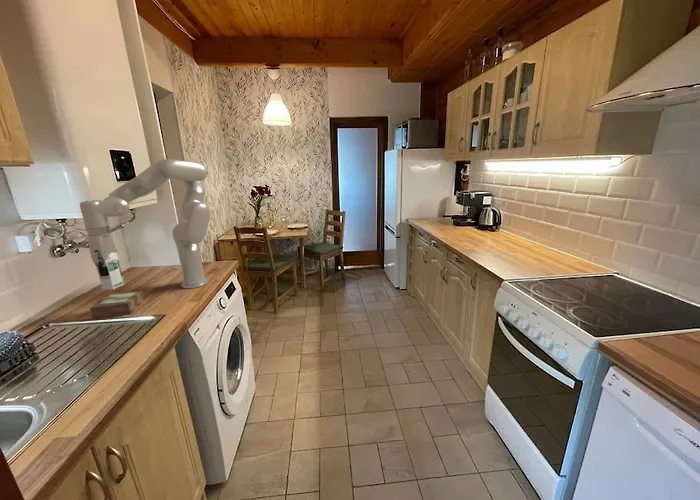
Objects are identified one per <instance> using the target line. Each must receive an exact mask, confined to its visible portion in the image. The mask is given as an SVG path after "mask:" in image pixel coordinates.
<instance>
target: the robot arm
mask: <svg viewBox="0 0 700 500" xmlns="http://www.w3.org/2000/svg"><path fill="white" fill-rule="evenodd" d="M207 176H208V171H207V168H206V166H204V165H203V164H201V163H200V162H195V161H193V162H192V161H187V160H180V159H173V158H165V159H160V160H157V161H156V162H154V163H153V164H151V165H150V166H148V167H147V168H145V170H143V171H142V172H140V173H139V174H137V176H134V178H131V179H130V180H128V181H126V183H123V184H122V185H121V186H118V187H117V188H116V189H114V190H112V191H111V192H110V193H109V194H108V195H109V197H107V198H105V197H104V198H105V199H104V200H103V201H102V200H99V199H93V200H92V201H89V200H83V201H84V202H83V201H81V202H80V203H79V207H80V208H79V209H80V212H81V215H82V219H83V220H82V221H83V222H84V226H85V230H86V235H87V240H88V247H89V253H90V258H91V260H92V263H94V265H95V267H96V266H97V268H98V270H99V274H100V276H101V277H103V276H109V271H108V267H107V266H106V261H105V260H106V259H108V258H109V255H110V254H111V253H113V252H116V253H117V252H118V250H117V248H116V245H115V242H114V239H113V236H112V232H111V227H110V222H109V219H108V218H109V217H110V218H111V217H123V216H125V215H127V214H128V212H130V203H131V202H133V201H135V200H137V199H139V198H142V197H145V196H148V195H151V194H152V193H154V192H155V191H156V190H157V189H159V187H161V186H162V185H163V184H165V183H166V182H167V181H168V180H170V179H172V180H173V179H174V180H179V181H181V180H182V182H183V183H184V185H185V194H184V197H183V201H182V204H181V208H180V215H181V217H182V218H183V219H184V220H186V221H187V222H179V223H177V224H175V226H173V228H172V237H173V238H172V239H173V240H174V243H175V246H176V249H177V254H178V258H179V263H180V268H181V272H182V277H183V282H182V283H181V284H180V285H181V288H183V289H196V288H199V287H203V286H205V285H207V284H208V283H209V278H208V277H205V272H204V268H203V267H204V266H203V262H202V256H201V252H200V251H201V250H200V248H199V247H200V246H199V244H200V243H202V242H203V240H204V239H205V237H206V234H207V229H208V226H209V223H210V219H211V210H210V208H209V206H208V204H206V203H205V202H204V200H205V195H206V188H205V185H204V183H203V181H204V180H205V179H206V178H207ZM117 254H118V253H117ZM102 257H103V259H99V258H102ZM100 261H103V263H102V262H100Z"/></svg>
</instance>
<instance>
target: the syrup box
mask: <svg viewBox="0 0 700 500" xmlns="http://www.w3.org/2000/svg"><path fill="white" fill-rule="evenodd" d="M99 259H103V257H102V258H99ZM105 261H106V266H107V267H108V271H109V276H103V277H101V276H100V274H99V270H98V268H97V266H96V265H95V268H96V271H97V276H98V278H99V281H100V286H101V289H102V290H115V289H118V288H119V287H122V286H124V285H125V284H126V283H125V278H124V275H123V271H122V268H121V265H120V260H119V256H118V253H116V252H113V253H111V254H110V255H109V258H108V259H106V260H105ZM100 262H102V263H103V261H100Z"/></svg>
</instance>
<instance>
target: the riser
mask: <svg viewBox="0 0 700 500" xmlns="http://www.w3.org/2000/svg"><path fill="white" fill-rule="evenodd" d="M144 302H145V296H144V293H143V290H136V291H126V292H125V291H124V292H119V293H118V292H117V293H109V294H106V295H105V296H104V297H102V298H101V299H100V300H98V301H97V302H95V304H93V305H92V306H91V307H89V310H90V313H91V316H92V319H93V320H97V319H106V318H111V317H112V318H113V317H123V316H129V315H132V314H133V313H134V312H135V311H136V310H137V309H138V308H139V307H140V306H141V305H142V304H143V303H144Z"/></svg>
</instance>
